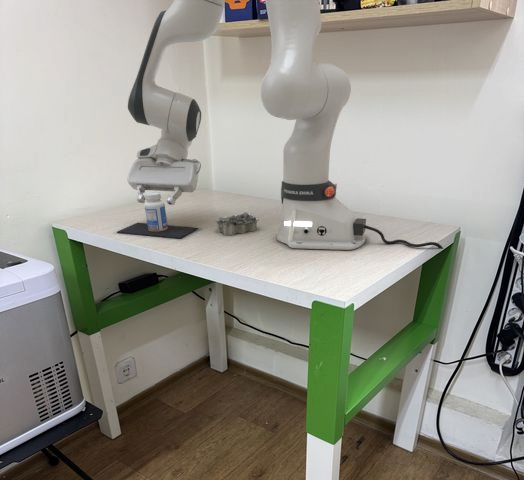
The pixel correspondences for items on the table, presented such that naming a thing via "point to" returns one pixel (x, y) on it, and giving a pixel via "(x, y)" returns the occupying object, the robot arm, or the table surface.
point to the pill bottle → (155, 212)
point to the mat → (170, 232)
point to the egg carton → (236, 224)
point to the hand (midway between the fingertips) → (155, 202)
